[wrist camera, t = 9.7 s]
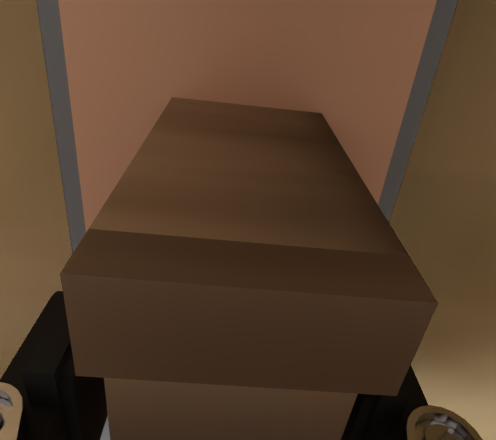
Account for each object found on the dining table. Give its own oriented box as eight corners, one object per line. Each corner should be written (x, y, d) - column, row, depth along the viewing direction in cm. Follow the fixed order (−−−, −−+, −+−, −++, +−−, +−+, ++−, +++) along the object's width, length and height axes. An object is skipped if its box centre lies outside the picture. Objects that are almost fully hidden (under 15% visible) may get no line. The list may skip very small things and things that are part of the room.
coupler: (271, 366, 14) (290, 633, 8) (167, 360, 14) (114, 629, 8) (321, 113, 10) (437, 303, 4) (171, 97, 10) (60, 273, 4)
